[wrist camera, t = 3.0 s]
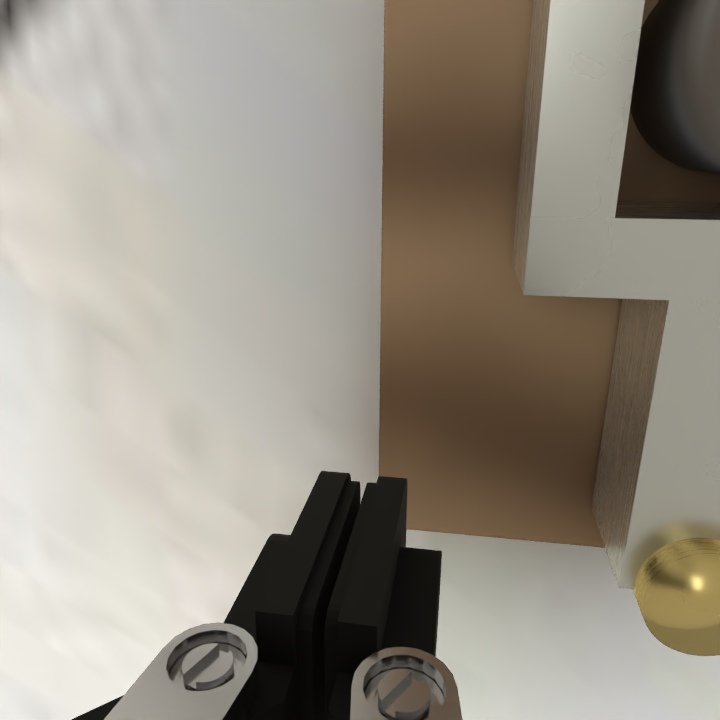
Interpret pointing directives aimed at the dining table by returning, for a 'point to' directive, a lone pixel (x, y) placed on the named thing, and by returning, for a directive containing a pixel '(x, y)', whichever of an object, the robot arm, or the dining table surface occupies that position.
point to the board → (509, 264)
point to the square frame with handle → (629, 313)
